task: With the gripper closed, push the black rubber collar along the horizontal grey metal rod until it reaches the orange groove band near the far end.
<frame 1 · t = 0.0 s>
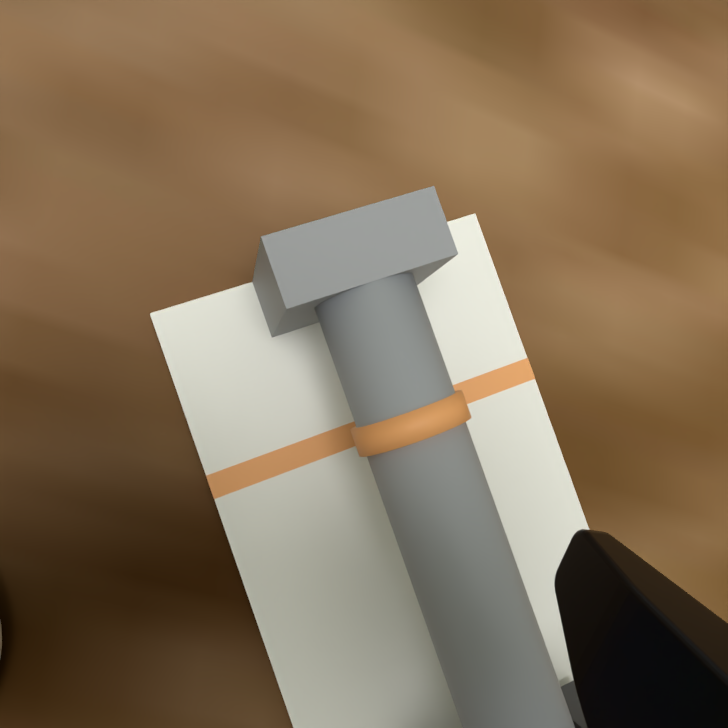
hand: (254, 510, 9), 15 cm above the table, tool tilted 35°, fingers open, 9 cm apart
pipe rig: (439, 610, 24), on the table
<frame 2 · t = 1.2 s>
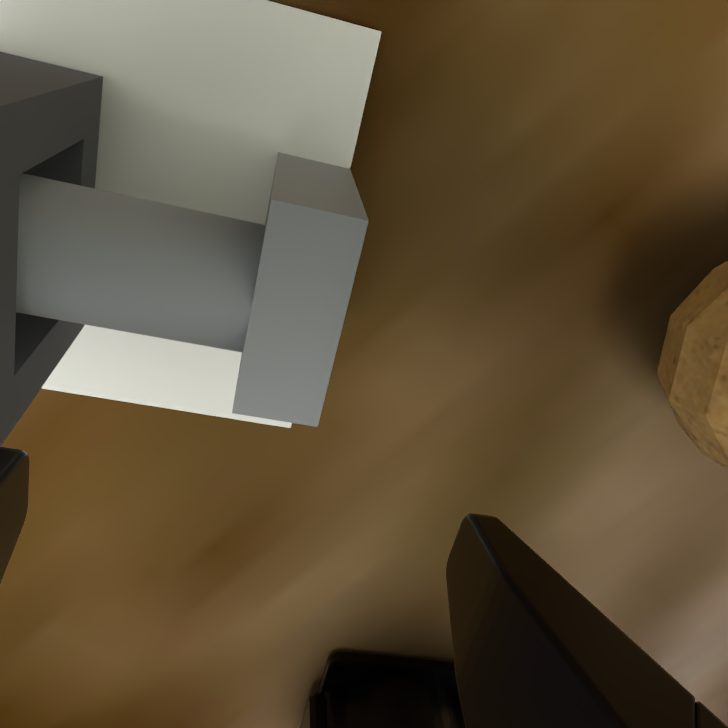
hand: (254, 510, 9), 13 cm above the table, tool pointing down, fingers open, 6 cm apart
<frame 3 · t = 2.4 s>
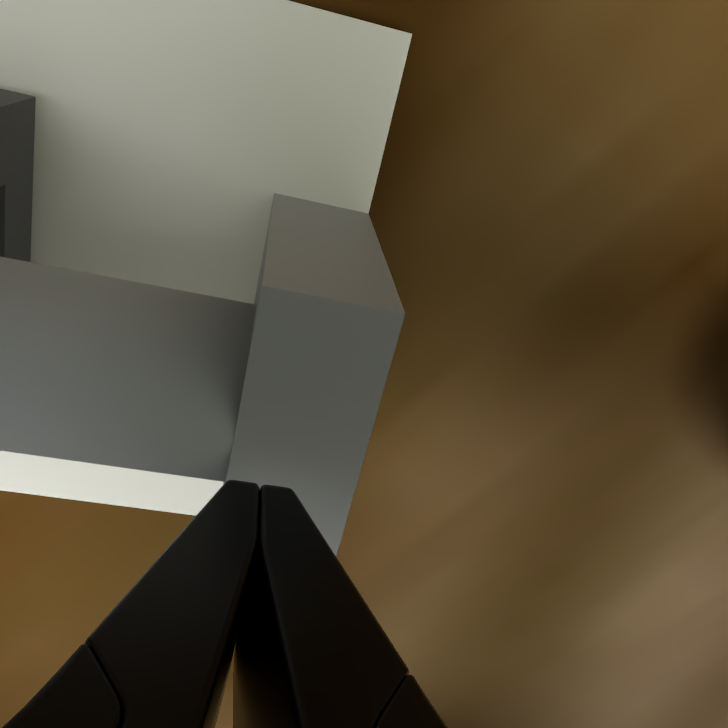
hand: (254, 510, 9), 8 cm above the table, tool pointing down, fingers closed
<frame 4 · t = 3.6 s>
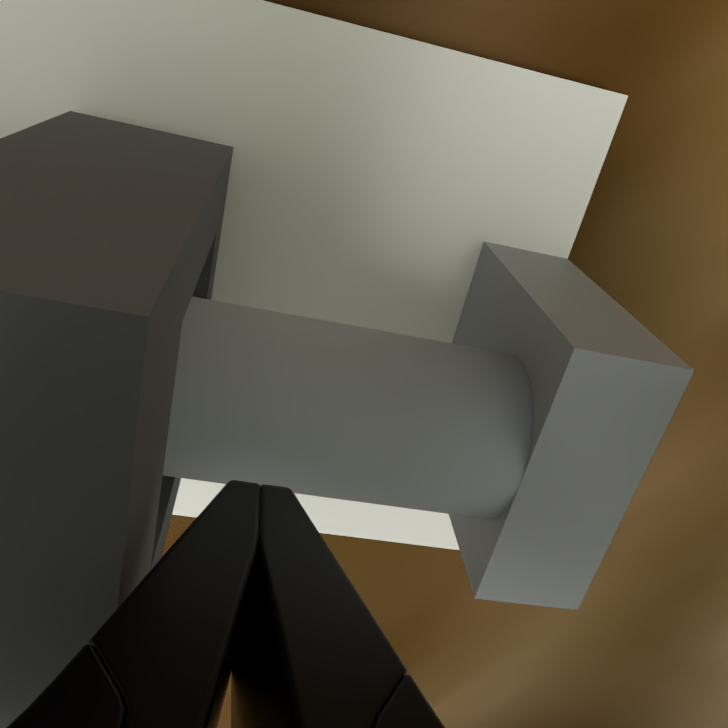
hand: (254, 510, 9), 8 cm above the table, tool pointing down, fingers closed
collar: (80, 394, 11), point 6 cm above the table, slide at 1.1 cm, touching gripper
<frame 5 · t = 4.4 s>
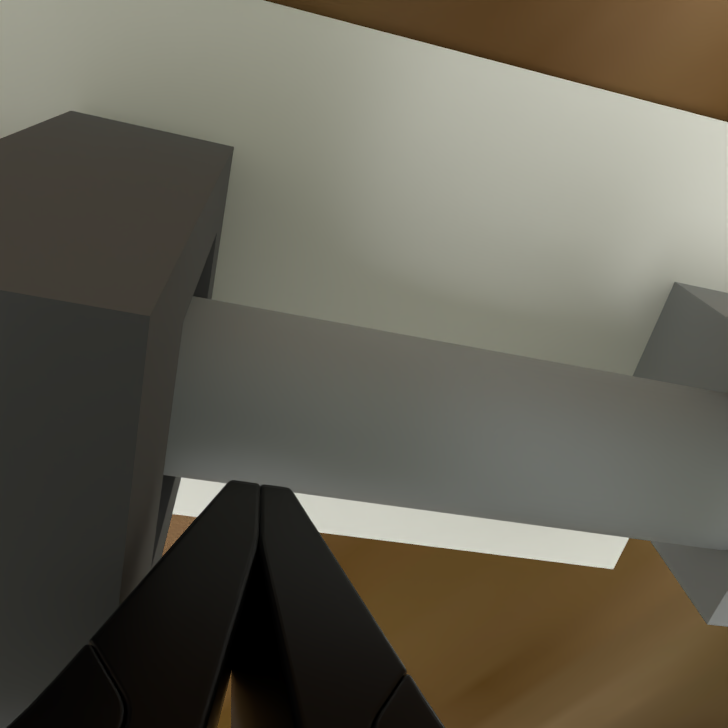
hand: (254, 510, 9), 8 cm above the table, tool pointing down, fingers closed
pipe rig: (184, 277, 16), on the table
collar: (80, 393, 11), point 6 cm above the table, slide at 5.8 cm, touching gripper
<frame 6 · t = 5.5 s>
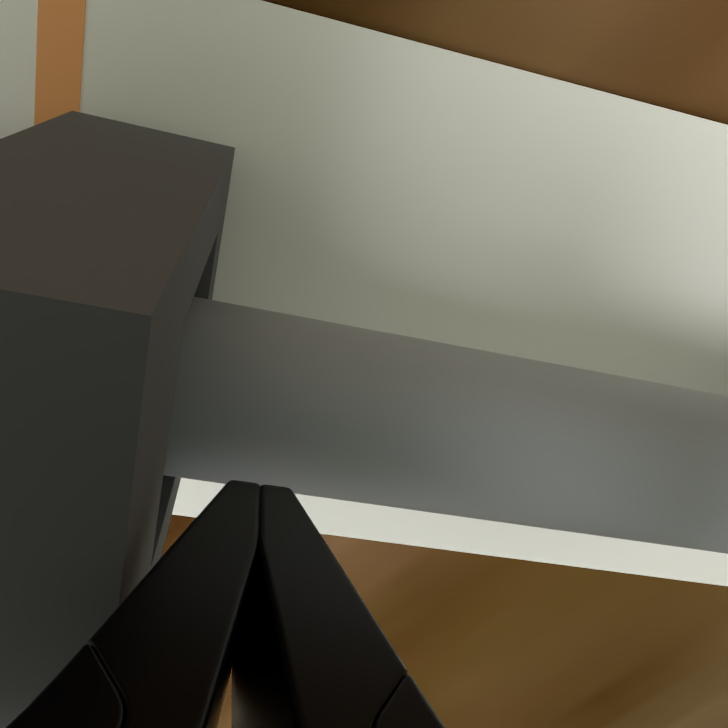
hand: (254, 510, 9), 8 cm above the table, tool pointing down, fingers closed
pipe rig: (367, 313, 17), on the table
collar: (81, 393, 11), point 6 cm above the table, slide at 10.1 cm, touching gripper
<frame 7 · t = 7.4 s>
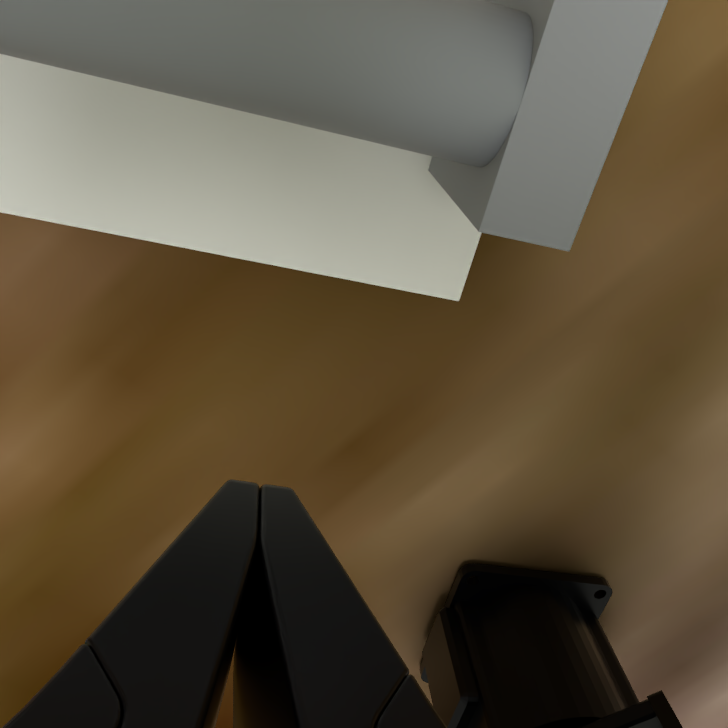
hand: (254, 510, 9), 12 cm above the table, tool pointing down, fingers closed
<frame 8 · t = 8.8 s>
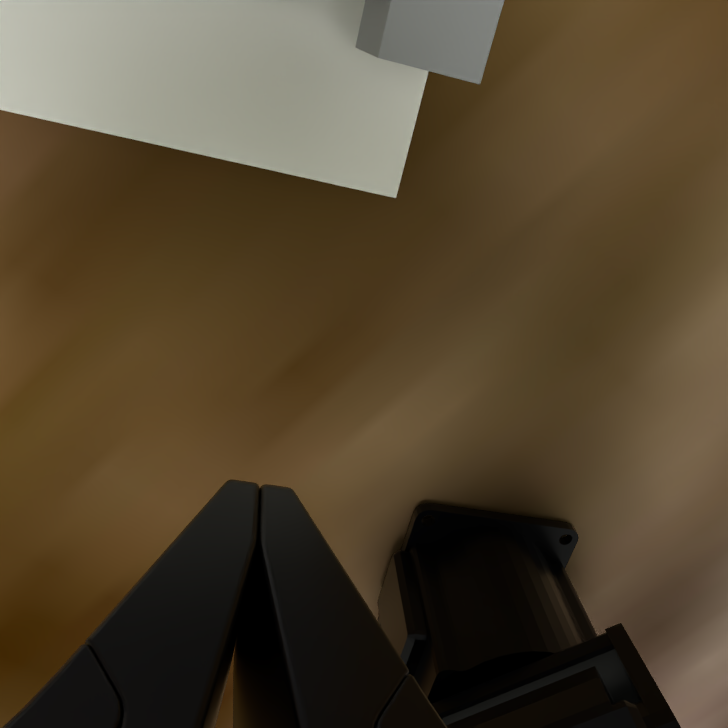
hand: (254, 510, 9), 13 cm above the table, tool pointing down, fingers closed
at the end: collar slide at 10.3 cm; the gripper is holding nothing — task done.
